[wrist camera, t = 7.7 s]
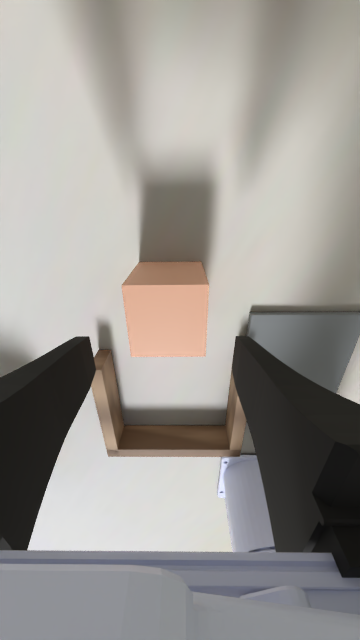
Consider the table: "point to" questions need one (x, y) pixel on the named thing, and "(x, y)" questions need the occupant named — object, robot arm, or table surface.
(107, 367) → the walnut stall
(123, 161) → the table surface
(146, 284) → the terracotta block
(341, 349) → the slate mat
